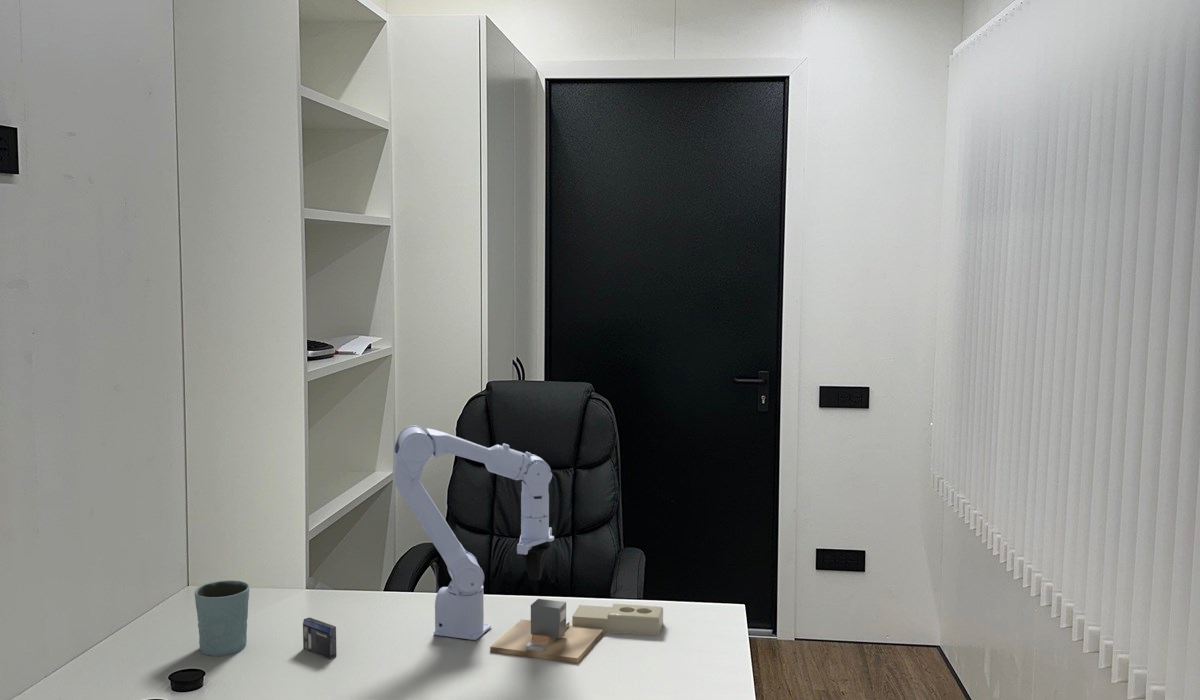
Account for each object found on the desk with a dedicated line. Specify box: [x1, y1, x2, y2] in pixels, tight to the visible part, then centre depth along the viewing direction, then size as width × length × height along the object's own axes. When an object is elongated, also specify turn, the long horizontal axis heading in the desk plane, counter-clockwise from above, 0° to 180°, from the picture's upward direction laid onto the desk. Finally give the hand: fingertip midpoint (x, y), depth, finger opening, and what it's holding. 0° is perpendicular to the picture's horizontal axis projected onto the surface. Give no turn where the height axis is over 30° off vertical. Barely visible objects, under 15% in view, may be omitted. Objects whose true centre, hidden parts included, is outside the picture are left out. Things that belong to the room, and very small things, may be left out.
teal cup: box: [194, 579, 251, 657], centre depth 199 cm, size 10×10×12 cm
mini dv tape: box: [302, 617, 338, 660], centre depth 197 cm, size 8×2×6 cm, turn 53°
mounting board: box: [489, 619, 605, 664], centre depth 203 cm, size 18×16×1 cm
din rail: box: [526, 620, 570, 652], centre depth 203 cm, size 4×15×2 cm, turn 162°
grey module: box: [530, 598, 567, 638], centre depth 203 cm, size 6×4×6 cm, turn 72°
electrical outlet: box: [571, 603, 664, 636], centre depth 213 cm, size 7×4×18 cm
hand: (535, 579), depth 212 cm, fingers closed
